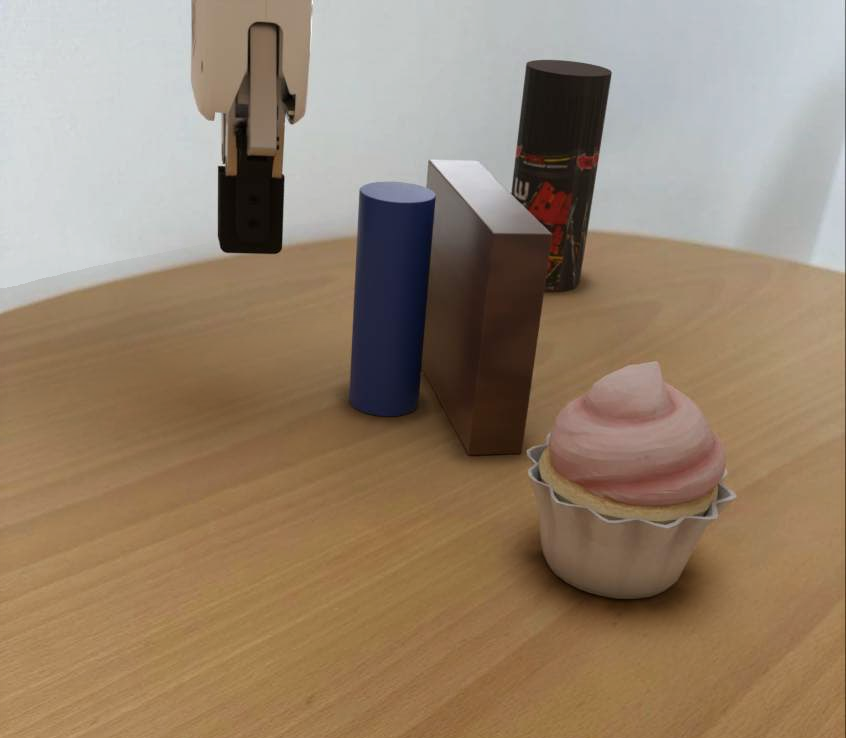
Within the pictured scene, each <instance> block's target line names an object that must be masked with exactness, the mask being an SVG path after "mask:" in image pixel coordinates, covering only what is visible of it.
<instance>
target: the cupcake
mask: <svg viewBox="0 0 846 738" xmlns="http://www.w3.org/2000/svg"><path fill="white" fill-rule="evenodd" d="M709 425H710V424H709V423H708V420H707V419H706V417H705V415H704V413H703V411H702V409H701V408H699V406H698V405H697V404H696V403H695V402H694V401H693V400H692V399H691V398H690V397H688V396H687V395H685V394H684V393H683V392H681V391H679V390H677V389H676V388H675V387H673V386H672V385H671V384H669V383H667V382H666V381H664V376H663V373H662V369H661V366H660V364H659V361H658V360H657V361H655V360H654V361H649V362H643V363H638V364H632V363H631V364H628V365H626V366H624V367H621V368H619V369H617V370H615V371H613V372H610V373H608V374H606V375H604V376H603V377H601V378H599V379H598V380H597V381H595V382H594V383H593V384H592V386H591V387H590V389H589V391H587V393H585V394H583V395H581V396H579V397H577V398H575V399H574V400H572V401H570V402H569V403H567V404H566V405H565V406H564V407H563V408H562V409H561V411H560V412H559V413H558V414H557V416H556V418H555V420H554V423H553V426H552V429H551V431H550V432H549V433H548V434H547V435H546V439H545V440H546V442H545V444H540V445H534V446H532V447H530V448H528V449H526V456H527V459H528V462H529V465H530V467H529V468H528V469H527V472H528V477H529V482H530V484H531V488H532V491H533V494H534V497H535V500H536V503H537V507H538V523H539V533H540V543H541V544H540V545H541V551H542V553H543V556H544V558H545V560H546V563H547V565H548V567H549V568H550V570H551V571H552V572H553V574H554V575H556V576H557V577H559V578H560V580H563V581H564V582H565V583H567V584H569V585H571V586H572V587H574V588H576V589H578V590H580V591H583V592H586V593H588V594H589V593H590V594H593V595H596V596H600V597H605V598H610V599H615V600H616V599H618V600H619V599H620V600H635V599H643V598H650V597H653V596H656V595H659V594H661V593H663V592H665V591H667V590H668V589H669V588H671V587H672V586H673V585H675V583H677V582H678V580H679V578H680V576H682V573H683V571H684V570H685V568H686V565H687V563H688V561H689V560H690V558H691V556H692V554H693V552H694V551H695V549H696V547H697V546H698V544H699V542H700V540H701V539H702V537H703V535H704V534H705V532H706V530H707V529H708V528H709V527H710V526H711V525H712V524H713V523H714V522H715V521H716V520H717V518H718V517H719V516H720V515H721V514H722V513H723V512H724V511H725V510H726V509H727V507H729V506H730V505H731V504H732V503H733V502H734V500H736V499H737V498H738V496H737V494H736V493H735V491H733V490H732V489H731V488H730V487H728V486H727V485H726V484H725V483H723V482H724V480H725V479H726V477H727V475H728V474H729V473H728V470H729V469H727V468H726V464H727V463H726V461H727V459H726V451H725V447H724V445H723V443H722V441H721V439H720V438H719V436H718V435H717V433H716V432H715V431H714V430H713V429H712V428H711V427H710V426H709Z"/></svg>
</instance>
